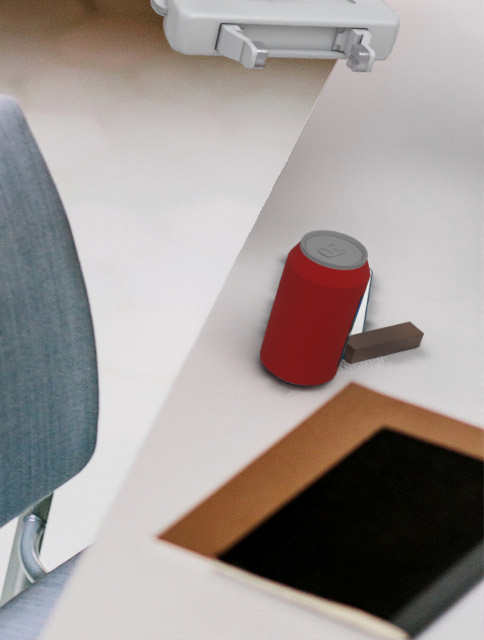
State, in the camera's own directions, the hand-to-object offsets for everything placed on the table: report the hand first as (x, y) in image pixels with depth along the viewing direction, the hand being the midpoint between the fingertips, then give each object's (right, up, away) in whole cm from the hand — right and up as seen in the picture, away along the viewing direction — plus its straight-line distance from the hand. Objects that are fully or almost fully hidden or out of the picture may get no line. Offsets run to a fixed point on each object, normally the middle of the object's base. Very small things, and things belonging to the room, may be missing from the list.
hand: (312, 62), depth 96 cm
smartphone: (+4, -18, +14) cm, 24 cm away
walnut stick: (+8, -23, +9) cm, 26 cm away
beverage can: (0, -25, +6) cm, 25 cm away
